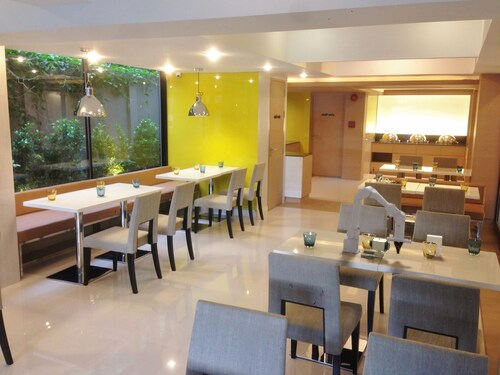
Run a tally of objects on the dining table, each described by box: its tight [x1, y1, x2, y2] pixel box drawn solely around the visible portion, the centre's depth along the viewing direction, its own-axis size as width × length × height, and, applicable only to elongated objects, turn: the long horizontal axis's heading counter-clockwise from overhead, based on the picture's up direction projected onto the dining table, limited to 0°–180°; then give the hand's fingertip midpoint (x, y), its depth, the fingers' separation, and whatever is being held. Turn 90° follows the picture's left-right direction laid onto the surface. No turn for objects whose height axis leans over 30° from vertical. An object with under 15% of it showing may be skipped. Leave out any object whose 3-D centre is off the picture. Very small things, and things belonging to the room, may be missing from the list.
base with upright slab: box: [426, 234, 443, 257], centre depth 287 cm, size 9×9×12 cm
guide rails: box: [360, 249, 376, 259], centre depth 283 cm, size 8×11×2 cm
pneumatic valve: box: [368, 237, 391, 259], centre depth 280 cm, size 6×12×12 cm, turn 54°
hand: (398, 253), depth 276 cm, fingers closed
